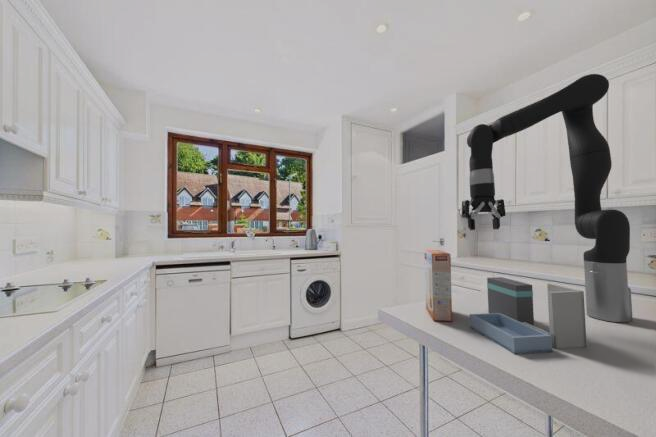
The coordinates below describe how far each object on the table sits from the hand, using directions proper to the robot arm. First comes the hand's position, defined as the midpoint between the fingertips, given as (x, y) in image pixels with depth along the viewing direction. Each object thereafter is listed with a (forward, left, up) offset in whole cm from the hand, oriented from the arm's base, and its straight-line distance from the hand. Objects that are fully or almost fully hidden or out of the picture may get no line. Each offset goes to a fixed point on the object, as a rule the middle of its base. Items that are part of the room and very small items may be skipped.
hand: (484, 229), depth 93 cm
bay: (0, +25, -28) cm, 37 cm away
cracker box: (+19, +2, -28) cm, 34 cm away
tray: (+11, +22, -28) cm, 37 cm away
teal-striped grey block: (0, +10, -28) cm, 30 cm away
